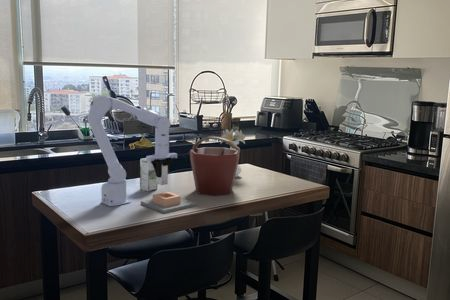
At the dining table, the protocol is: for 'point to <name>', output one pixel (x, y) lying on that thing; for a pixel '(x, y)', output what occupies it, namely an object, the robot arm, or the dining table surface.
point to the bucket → (214, 168)
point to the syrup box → (147, 176)
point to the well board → (167, 202)
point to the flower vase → (235, 138)
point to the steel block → (163, 176)
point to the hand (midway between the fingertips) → (162, 176)
